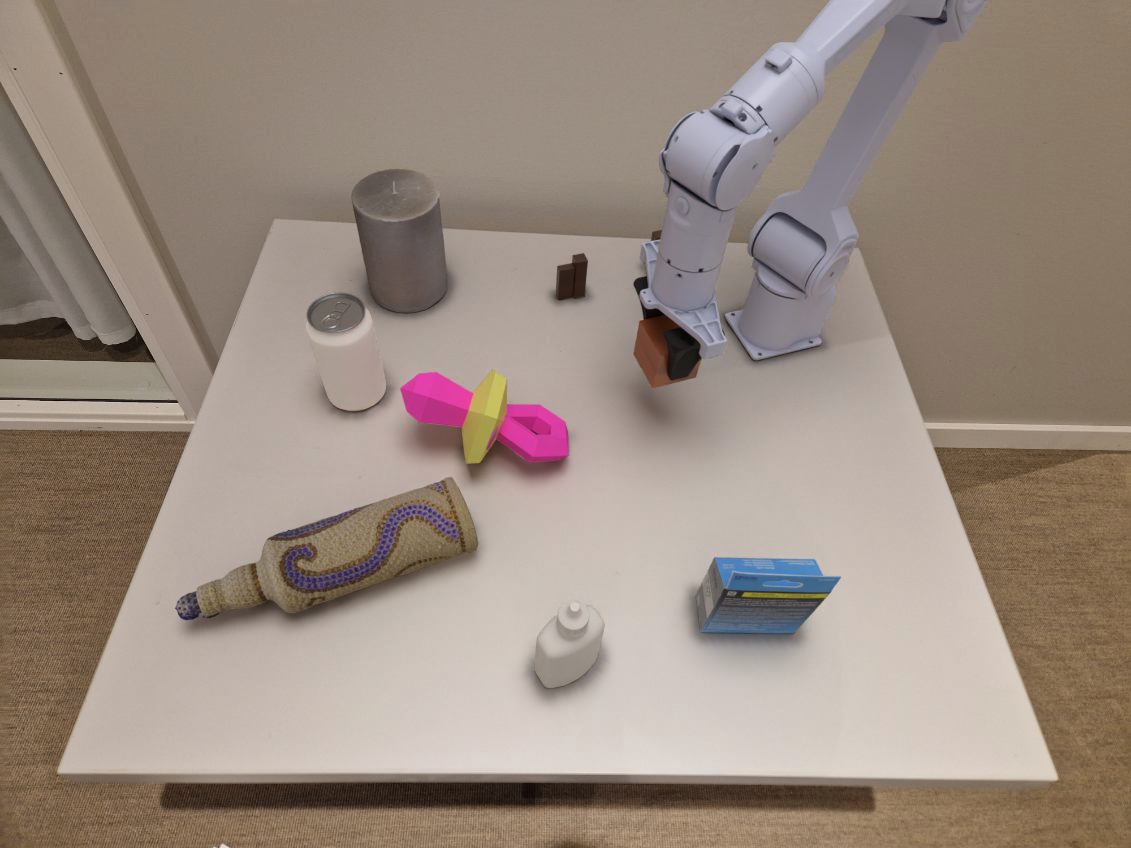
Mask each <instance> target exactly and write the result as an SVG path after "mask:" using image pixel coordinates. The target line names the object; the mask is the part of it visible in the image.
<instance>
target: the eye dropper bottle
mask: <svg viewBox="0 0 1131 848" xmlns="http://www.w3.org/2000/svg"><path fill="white" fill-rule="evenodd" d="M605 627H606V624H605V620H604V618H603V617H602V615H601V613H600V612H599V610H597V608H596V607H594V606H593V605H590V604H587V605H586V604H584V602H582V601H580V600H576V599H570V600H566V601H564V602H563V603H562V604H561V605H560V606H559V607H558V610H557V614H556V615H555V616H553V617H552V618H551V619H550V620H549V621H548V622H547V623H546V624H545V625H544V626H543V627H542V628H541V630H540V632H539V633H538V635H537V637H536V641H535V653H534V672H535V674H536V676H537V677H538V680H540V682H541V684H542V685H543V686H544V687H545V688H547V689H555V688H556V689H557V688H560V687H565V686H567V685H569V684H571V683H573V682H576V681H577V680H579V679H580V678H581V677H583V676H585V674H587V673H588V671H589V670H590V669H591V668H592V667H593V665H595V663H596V661H597V660H598V657H599V654H600V650H601V645H602V641H603V638H604V633H605Z"/></svg>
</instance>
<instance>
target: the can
mask: <svg viewBox="0 0 1131 848" xmlns="http://www.w3.org/2000/svg"><path fill="white" fill-rule="evenodd" d="M305 329H306V330H305V331H306V335H307V338H308V341H309V344H310V348H311V351H312V354H313V356H314V360H315V363H316V366H317V369H318V372H319V375H320V379H321V382H322V384H323V388H324V390H325V393H326V396H327V398H328V400H329V402H330V403H331V404H332V405H333V406H334V407H335V408H337V409H340V410H344V411H350V412H360V411H364V410H367V409H369V408H372V407H373V406H375V405H377V404H378V403H379V402H380V401H381V400H382V399H383V398H384V395H385V394H386V391H387V380H386V375H385V371H384V365H383V361H382V357H381V352H380V347H379V343H378V339H377V334H376V329H375V325H374V321H373V318H372V315H371V313H370V312H369V310H368V309H367V307H366V306H365V303H364V301H363V300H362V299H361V298H360V297H358V296H357V295H354V294H352V293H348V292H342V291H340V292H332V293H331V292H330V293H327V294H324V295H321V296H320V297H318V298H316V299H314V300H313V301H312V302H311V303H310V305H309V306H308V308H307V310H306V323H305Z"/></svg>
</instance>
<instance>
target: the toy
mask: <svg viewBox="0 0 1131 848" xmlns="http://www.w3.org/2000/svg"><path fill="white" fill-rule="evenodd" d="M399 390H400V394H401V397H402V400H403V404H404V407H405V411H406V413H408V414H409V415H410V416H411V417H413V419H415V420H416V421H417V422H418V423H420V424H430V425H439V426H449V427H458V428H460V429H461V435H462V436H461V437H462V445H463V447H462V448H463V453H464V461H465V462H464V463H465V464H467V465H468V464H480V463H481V462H482V461H483V459H484V458H485V456H486V455H487V454H488V452H489V450H490V449H491V448H492V446H493V445H494V443H495V442H496V440H497V441H498V442H499V443H501V444H503V445H504V446H505V447H506V448H508V449H510V450H511V451H512V452H514V453H516V455H518V456H519V457H521V458H522V459H524V460H525V461H527V462H528V463H541V462H557V461H559V460H562V459H564V458H567V457H569V456H570V447H569V446H570V445H569V444H570V443H569V430H568V426H567V423H566V420H564V419H562V418H561V417H559V416H558V415H557V414H555V413H553V412H552V411H550V410H549V409H547V408H546V407H544V406H543V405H541V404H540V403H537V404H536V403H535V404H533V403H532V404H530V403H528V404H527V403H526V404H525V403H524V404H522V403H521V404H518V403H511V404H510V403H508V379H507V378H506V377H504V375H502V374H501V373H499V372H498V371H497V370H495V369H493V368H492V369H491V370H490V371H489V372H488V374H487V375H486V376H485V377H484V379H483V380H482V381H481V382H480V383H479V385H477V387H476V389H475V390H474V391H473V392H472V391H470V390H468V389H467V388H465V387H464V386H462V385H460V384H458V383H456V382H455V381H453V380H451V379H449V378H448V377H446V376H445V375H443V374H441V373H440V372H438V371H429V372H419V373H418V374H416V375H415V376H414V377H412V378H411V379H410V380H408V381H407V382H406V383H404V384H403V385H402V386H401V387H400V388H399Z"/></svg>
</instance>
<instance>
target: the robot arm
mask: <svg viewBox="0 0 1131 848" xmlns="http://www.w3.org/2000/svg"><path fill="white" fill-rule="evenodd" d="M988 1H989V0H829V1H828V2H827V3H826V4H825V6H824V7H823V8H822V9H821V11H820V12H819V13H818V14H817V15H816V16H815V18H814V19H812V21H811V23H810V24H809V25H808V26H807V27H806V28H805V30H804V31H803V32H802V33H801V34H800V36H799V37H798V38H797V39H796V41H793V42H790V41H789V42H787V41H781V42H776V43H773V44H772V45H771V46H770V47H769V48H768V49H767V51H765V52H764V53H763V54H762V56H760V57H759V58H758V59H757V60H756V61H755V62H754V63H753V64H752V66H751V67H749V68H748V69H747V70H746V71H745V72H744V73H743V74H742V76H741V77H739V78H738V80H737V81H735V82H734V84H732V86H731V87H729V88H728V90H726V92H724V94H723V95H722V96H721V97H719V99H718V100H717V101H716V102H715V103H714V104H713V105H712V106H711V107H710V108H709V109H702V110H701V111H691V112H689V113H687V114H685V115H684V116H682V117H681V118H680V119H679V120H678V121H677V122H676V123H675V125H674V126H673V128H671V131H670V132H669V133H668V135H667V138H666V140H665V143H664V146H663V149H662V150H661V151H660V152H659V153H658V167H659V170H660V172H661V174H662V175H663V177H664V182H663V188H662V192H663V193H664V195H665V196H666V198H667V201H666V207H665V211H664V216H663V223H662V228H661V230H662V233H661V238H660V240H655V241H651V240H649V241H645V242H642V243H641V246H640V252H639V260H640V261H641V263H642V264H643V265H645V268H646V269H645V270H646V275H644V276H640V277H637V278H635V279H634V280H633V283H632V284H633V288H634V290H635V292H636V294H637V297H638V300H639V303H640V307H641V312H642V320H644V319H649V318H653V317H658V316H662V315H666V316H668V317H669V318H670V319H671V320H673V321H674V322H675V323H676V324H678V325H679V326H680V327H679V328H675V329H671V330H666V331H663V336H664V338H665V340H666V343H667V347H668V364H667V373H668V377H669V379H670V380H671V381H673V380H677V379H681V378H685V377H688V376H689V374H690V373H691V371H692V370H693V368H694V367H695V366H696V364H697V363H698V362H699V361H700V360H701V361H707V360H711V359H717V358H719V357H722V356H724V353H725V350H726V347H727V344H728V339H727V338H726V332H725V330H723V328H722V325H721V324H722V323H721V318H720V313H719V308H718V306H719V305H718V301H717V296H716V290H715V289H716V286H717V282H718V278H719V275H720V271H721V267H722V264H723V261H724V257H725V254H726V250H727V246H728V242H729V238H730V235H731V232H732V228H733V225H734V220H735V217H736V214H737V211H738V207H739V205H740V204H741V203H742V202H743V201H744V200H745V199H747V198H748V197H749V196H750V195H751V194H752V192H753V191H754V190H755V188H756V187H757V185H758V183H759V182H760V180H761V178H762V176H763V174H764V173H765V171H766V169H767V167H768V166H769V165H771V163H772V161H773V159H774V158H775V156H776V155H775V154H776V152H775V149H776V147H777V146H778V145H779V144H780V143H781V142H782V141H783V140H784V139H786V137H787V136H788V135H789V134H790V133H791V132H792V131H794V129H795V128H796V127H797V126H798V125H799V124H800V123H801V122H802V121H803V120H804V119H805V118H806V117H807V116H808V115H809V114H810V113H811V111H812V110H814V108H816V107H817V105H819V104H820V102H822V100H823V98H824V95H825V93H826V92H825V91H826V76H828V75H829V74H830V73H831V72H832V71H834V70H835V68H836V67H838V66H839V65H840V64H841V63H843V62H844V61H845V60H846V59H847V58H848V57H850V55H852V54H853V53H854V52H855V51H856V50H858V49H859V48H860V47H861V46H862V45H864V44H865V42H867V41H868V40H869V39H870V38H872V37H873V36H874V35H875V34H876V33H877V32H878V31H880V30H881V29H882V28H883V27H884V33H883V35H882V36H881V39H880V41H879V43H878V45H877V46H876V49H875V50H874V52H873V54H872V56H871V58H870V59H869V61H868V63H867V65H866V68H865V69H864V71H863V73H862V74H861V77H860V79H859V80H858V83H857V84H856V86H855V88H854V90H853V92H852V94H851V95H850V98H849V99H848V101H847V104H846V105H845V106H844V109H843V111H842V113H841V115H840V117H839V118H838V120H837V122H836V124H835V125H834V128H833V129H832V131H831V134H830V136H829V137H828V139H827V141H826V143H825V145H824V147H823V149H822V150H821V152H820V155H819V156H818V158H817V159H816V162H815V164H814V166H813V168H812V170H811V171H810V173H809V175H808V177H807V179H806V181H805V183H804V185H803V186H802V188H801V189H797V190H790V191H787V192H783V193H781V194H779V195H776V196H775V197H773V199H772V200H771V202H770V204H769V205H768V207H767V208H766V210H765V212H764V213H763V215H761V217H759V219H758V220H757V221H756V223H755V225H754V226H753V227H752V229H751V231H750V233H749V235H748V239H747V245H746V246H747V247H746V248H747V249H746V250H747V254H748V256H750V257H752V259H753V260H752V262H751V265H750V267H751V268H752V269H753V270H754V275H753V278H752V280H751V281H752V282H751V285H750V287H749V290H748V292H747V297H746V299H745V302H744V305H743V308H742V309H738V310H734V311H728V312H726V313H725V315H724V319H725V320H726V321H727V323H728V324H729V326H730V328H731V329H732V331H733V332H734V333H735V335H736V336H737V338H738V340H739V341H740V343H741V344H742V346H743V347H744V349H745V350H746V352H747V353H748V354H749V356H750V358H751V359H752V360H754V361H760V360H764V359H769V358H772V357H776V356H781V355H785V354H789V353H793V352H797V351H801V350H805V349H809V348H813V347H818V346H820V345H822V343H823V340H822V338H820V335H821V332H822V330H823V328H824V326H825V324H826V321H827V320H828V317H829V316H830V314H831V311H832V309H833V306H834V305H835V302H836V296H837V286H836V283H837V282H839V280H840V279H841V277H842V276H843V274H844V273H845V271H846V269H847V267H848V265H849V262H850V259H851V256H852V254H853V251H854V249H855V247H856V246H857V243H858V240H859V238H860V235H859V231H858V229H857V227H856V224H855V222H854V220H853V218H852V215H851V212H850V209H849V204H850V203H851V200H852V199H853V197H854V196H855V194H856V192H857V190H858V189H859V187H860V185H861V183H862V182H863V180H864V178H865V176H866V175H867V173H868V171H869V170H870V168H871V166H872V164H873V162H874V161H875V159H876V157H877V156H878V154H879V153H880V150H881V149H882V147H883V145H884V144H885V142H886V140H887V138H888V137H889V135H890V134H891V131H892V130H893V128H894V126H895V125H896V123H897V122H898V119H899V118H900V117H901V114H902V113H903V111H904V109H905V108H906V106H907V104H908V102H909V101H910V99H911V97H912V95H913V94H914V92H915V90H916V89H917V86H918V85H919V83H920V82H921V79H922V78H923V76H924V74H925V73H926V71H927V69H928V68H929V66H930V64H931V62H932V61H933V59H934V57H935V56H936V54H937V53H938V52H939V50H940V48H941V47H942V45H943V43H954V42H955V43H956V42H961V41H963V39H964V38H965V37H966V35H967V33H968V32H969V30H971V28H972V27H973V25H974V24H975V23H976V21H977V19H978V17H979V16H980V14H981V12H982V10H983V9H984V7H985V6H986V4H987V2H988ZM701 358H702V359H701Z"/></svg>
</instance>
